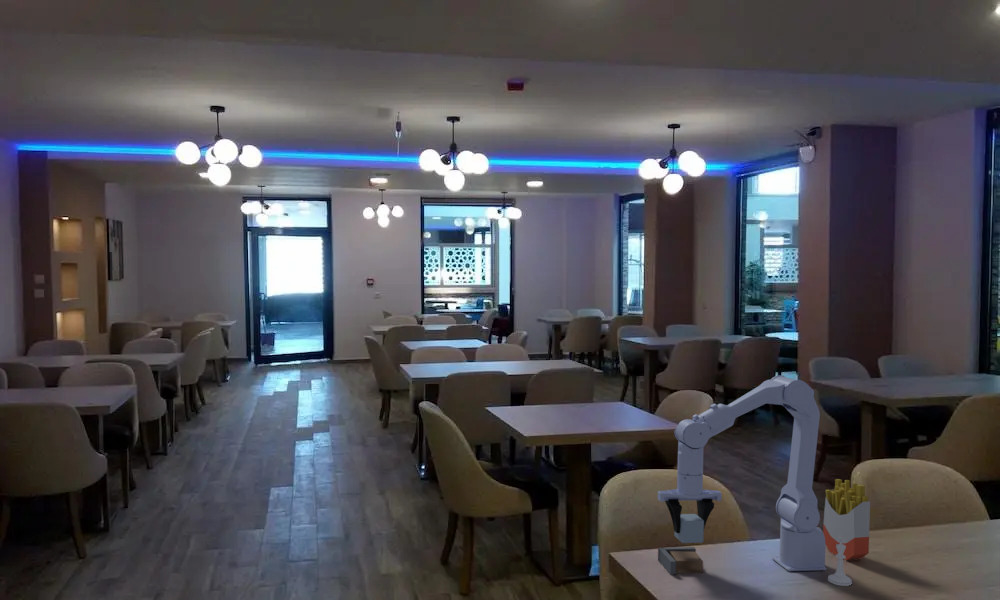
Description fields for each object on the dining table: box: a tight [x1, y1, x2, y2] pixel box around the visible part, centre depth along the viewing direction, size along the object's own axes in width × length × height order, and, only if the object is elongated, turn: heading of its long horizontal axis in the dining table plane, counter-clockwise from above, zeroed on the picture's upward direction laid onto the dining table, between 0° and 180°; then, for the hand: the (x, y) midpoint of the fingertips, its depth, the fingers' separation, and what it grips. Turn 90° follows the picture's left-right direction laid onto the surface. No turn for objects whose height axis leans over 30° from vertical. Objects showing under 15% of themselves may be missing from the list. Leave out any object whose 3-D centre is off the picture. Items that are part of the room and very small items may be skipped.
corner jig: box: [657, 546, 697, 576], centre depth 174 cm, size 9×9×3 cm
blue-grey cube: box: [674, 513, 705, 544], centre depth 173 cm, size 5×5×5 cm
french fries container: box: [822, 478, 871, 561], centre depth 183 cm, size 5×11×18 cm, turn 15°
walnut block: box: [670, 551, 704, 574], centre depth 173 cm, size 6×6×3 cm
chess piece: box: [827, 537, 853, 587], centre depth 167 cm, size 5×5×10 cm
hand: (688, 531), depth 173 cm, fingers closed on blue-grey cube, 5 cm apart
